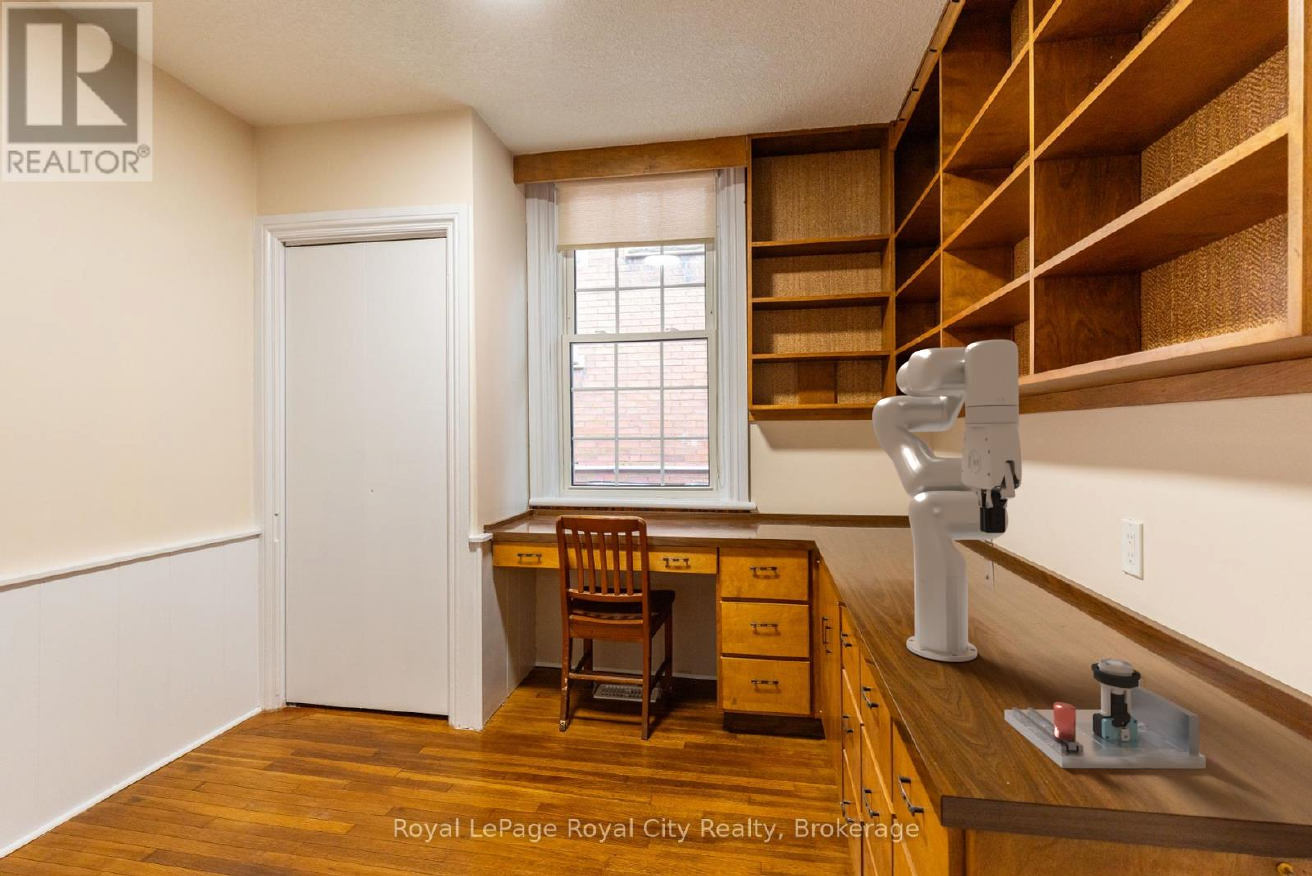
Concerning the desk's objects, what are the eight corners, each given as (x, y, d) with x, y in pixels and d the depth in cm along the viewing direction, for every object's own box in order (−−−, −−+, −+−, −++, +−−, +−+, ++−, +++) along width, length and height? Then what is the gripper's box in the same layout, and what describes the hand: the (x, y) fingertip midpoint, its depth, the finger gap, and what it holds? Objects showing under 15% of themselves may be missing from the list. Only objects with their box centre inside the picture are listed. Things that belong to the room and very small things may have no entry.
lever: (1048, 738, 80) (1047, 701, 80) (1066, 738, 80) (1066, 701, 79) (1063, 750, 77) (1062, 711, 77) (1081, 750, 76) (1081, 711, 76)
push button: (1127, 725, 83) (1126, 654, 83) (1161, 745, 78) (1161, 669, 78) (1082, 727, 83) (1081, 656, 83) (1114, 747, 78) (1113, 671, 78)
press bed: (1004, 719, 89) (1004, 676, 89) (1126, 719, 88) (1126, 676, 88) (1061, 768, 76) (1061, 717, 76) (1205, 768, 75) (1205, 717, 75)
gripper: (946, 419, 103) (947, 525, 103) (993, 416, 88) (994, 540, 88) (989, 419, 102) (991, 525, 102) (1044, 416, 87) (1045, 540, 87)
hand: (992, 532), depth 95 cm, fingers closed
